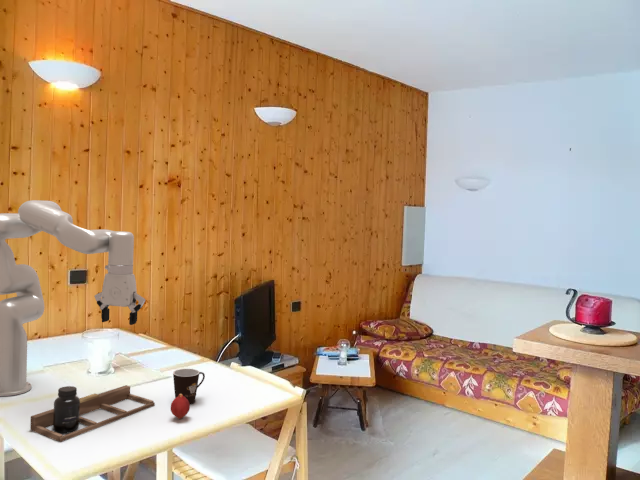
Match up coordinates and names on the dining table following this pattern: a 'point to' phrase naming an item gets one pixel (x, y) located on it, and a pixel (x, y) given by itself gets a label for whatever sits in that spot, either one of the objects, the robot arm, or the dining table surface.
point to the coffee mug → (187, 383)
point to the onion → (180, 406)
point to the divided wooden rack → (89, 405)
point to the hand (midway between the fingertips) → (119, 322)
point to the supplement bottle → (66, 410)
